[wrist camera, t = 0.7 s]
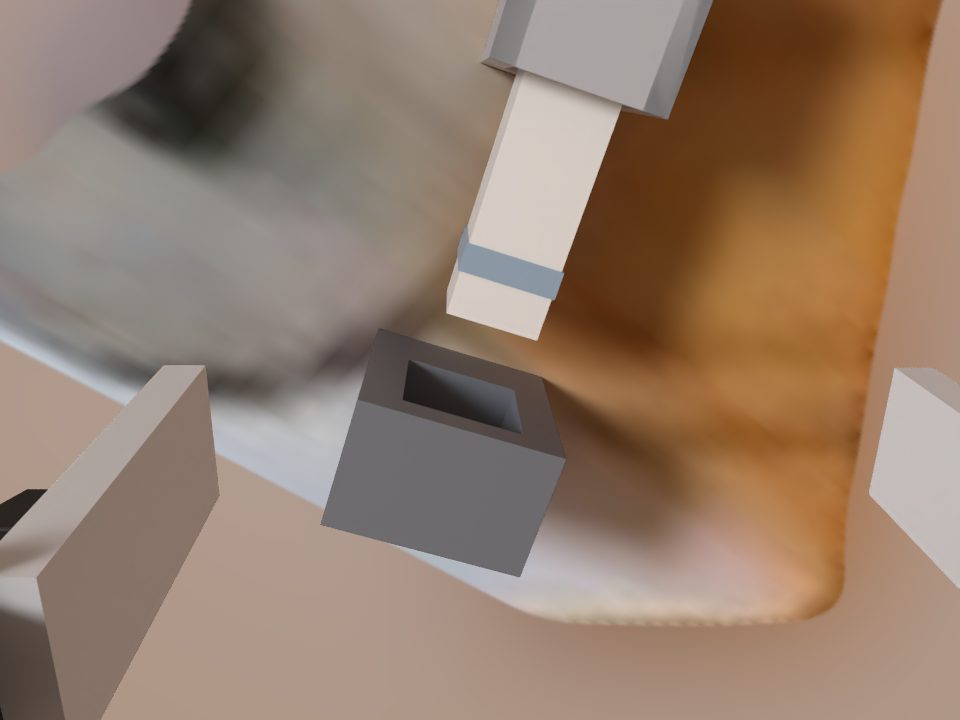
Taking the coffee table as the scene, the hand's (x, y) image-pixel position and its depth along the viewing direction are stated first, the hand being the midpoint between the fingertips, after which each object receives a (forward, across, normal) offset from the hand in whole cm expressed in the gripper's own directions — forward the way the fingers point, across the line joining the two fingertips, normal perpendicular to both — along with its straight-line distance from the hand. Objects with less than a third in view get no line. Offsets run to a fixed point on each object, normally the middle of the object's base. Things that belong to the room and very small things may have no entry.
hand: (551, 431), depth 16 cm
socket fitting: (+26, -2, -11) cm, 28 cm away
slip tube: (+23, +3, +5) cm, 23 cm away
